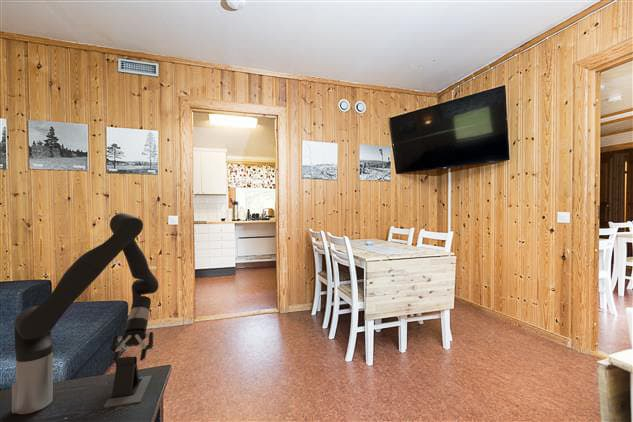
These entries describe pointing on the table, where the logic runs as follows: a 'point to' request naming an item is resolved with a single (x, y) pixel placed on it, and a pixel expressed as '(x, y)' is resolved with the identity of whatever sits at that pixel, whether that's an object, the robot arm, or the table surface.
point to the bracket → (130, 399)
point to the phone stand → (125, 377)
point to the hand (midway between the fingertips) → (129, 361)
